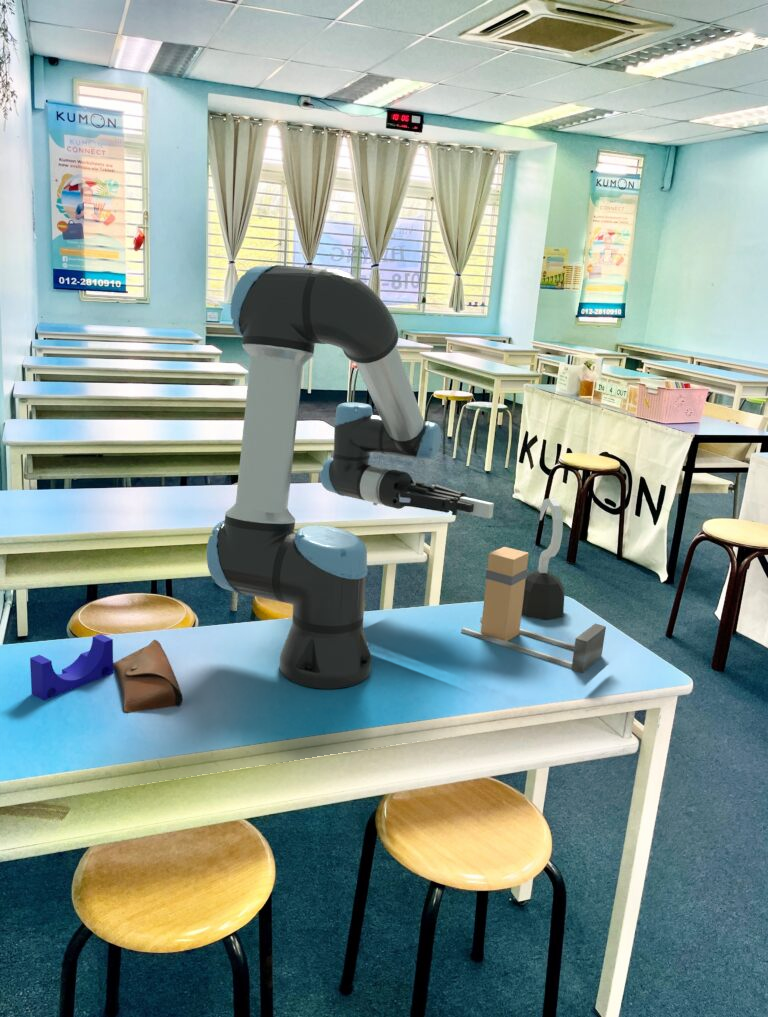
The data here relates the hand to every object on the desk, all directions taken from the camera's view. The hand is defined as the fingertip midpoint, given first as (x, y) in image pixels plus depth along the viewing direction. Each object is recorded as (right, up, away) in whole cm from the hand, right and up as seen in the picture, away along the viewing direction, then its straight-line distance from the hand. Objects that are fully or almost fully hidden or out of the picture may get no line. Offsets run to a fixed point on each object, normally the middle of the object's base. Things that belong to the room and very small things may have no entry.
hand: (491, 510), depth 144 cm
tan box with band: (+2, -23, +1) cm, 23 cm away
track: (+6, -26, -2) cm, 27 cm away
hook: (+12, -22, +15) cm, 29 cm away
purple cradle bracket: (-68, -27, -24) cm, 77 cm away
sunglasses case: (-57, -27, -23) cm, 67 cm away
